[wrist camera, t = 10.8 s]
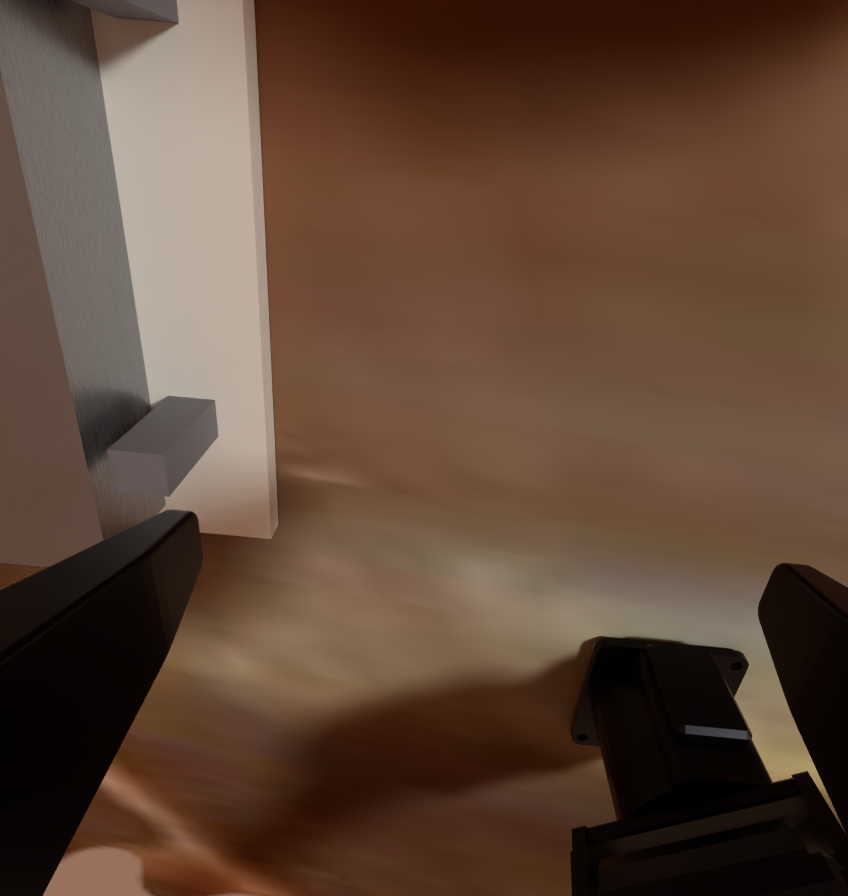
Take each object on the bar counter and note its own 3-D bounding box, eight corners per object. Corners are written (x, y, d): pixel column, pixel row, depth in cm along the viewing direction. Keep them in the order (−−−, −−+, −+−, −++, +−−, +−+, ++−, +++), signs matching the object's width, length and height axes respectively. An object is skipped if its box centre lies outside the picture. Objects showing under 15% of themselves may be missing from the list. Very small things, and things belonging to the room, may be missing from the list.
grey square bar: (165, 504, 22) (105, 579, 18) (61, 494, 22) (-21, 567, 18) (50, -254, 13) (-120, -419, 9) (-129, -268, 13) (-372, -438, 9)
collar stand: (278, 524, 24) (237, 612, 19) (-16, 496, 24) (-125, 577, 19) (242, -267, 13) (135, -468, 9) (-276, -309, 14) (-632, -528, 9)
